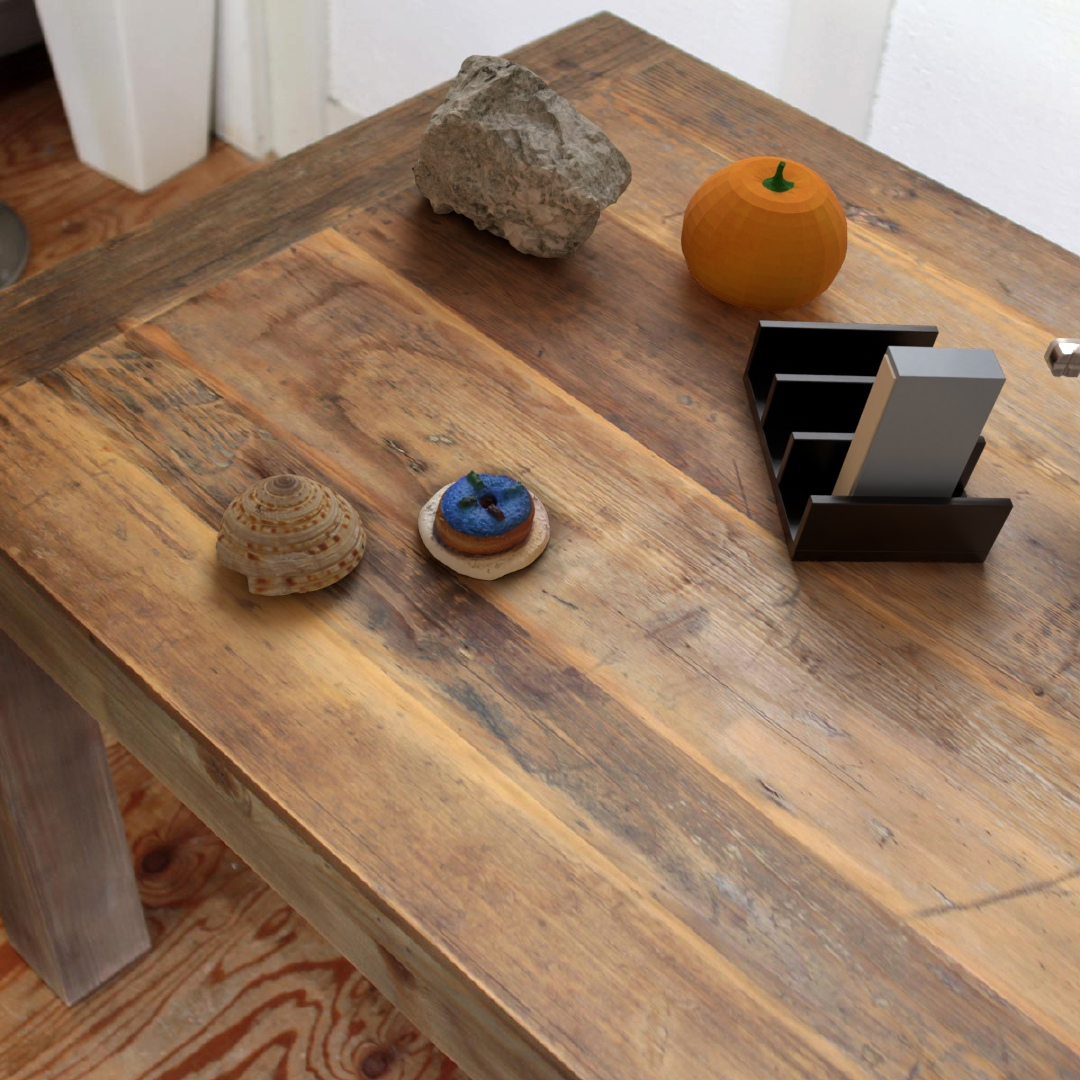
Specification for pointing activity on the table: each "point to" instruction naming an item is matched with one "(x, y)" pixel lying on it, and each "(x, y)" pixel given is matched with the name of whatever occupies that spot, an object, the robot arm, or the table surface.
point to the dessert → (484, 526)
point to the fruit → (764, 234)
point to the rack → (824, 440)
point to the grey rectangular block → (921, 422)
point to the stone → (518, 159)
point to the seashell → (290, 536)
